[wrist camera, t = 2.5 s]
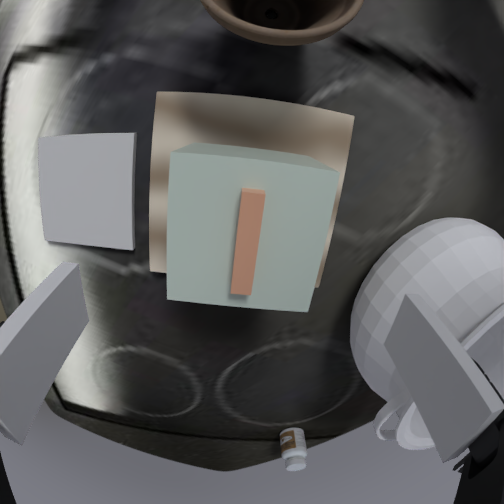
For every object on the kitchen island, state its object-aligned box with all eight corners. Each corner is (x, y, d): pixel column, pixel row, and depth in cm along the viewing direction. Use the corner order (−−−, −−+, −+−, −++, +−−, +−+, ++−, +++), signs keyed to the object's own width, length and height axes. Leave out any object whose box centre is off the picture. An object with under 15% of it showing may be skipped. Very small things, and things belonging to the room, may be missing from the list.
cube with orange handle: (194, 142, 22) (165, 154, 14) (308, 155, 23) (346, 175, 14) (187, 247, 26) (163, 308, 17) (290, 258, 27) (310, 321, 18)
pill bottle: (287, 425, 45) (292, 461, 37) (307, 428, 45) (314, 463, 38) (274, 436, 46) (278, 471, 39) (294, 439, 47) (299, 472, 40)
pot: (359, 385, 41) (390, 474, 26) (307, 263, 31) (356, 384, 16) (487, 313, 37) (541, 376, 21) (482, 176, 27) (583, 224, 12)
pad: (42, 136, 24) (38, 137, 23) (137, 133, 25) (134, 133, 24) (48, 237, 29) (44, 240, 28) (135, 247, 30) (132, 250, 29)
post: (160, 92, 24) (112, 77, 14) (349, 116, 25) (408, 116, 15) (153, 265, 31) (119, 329, 21) (316, 281, 32) (343, 349, 22)
